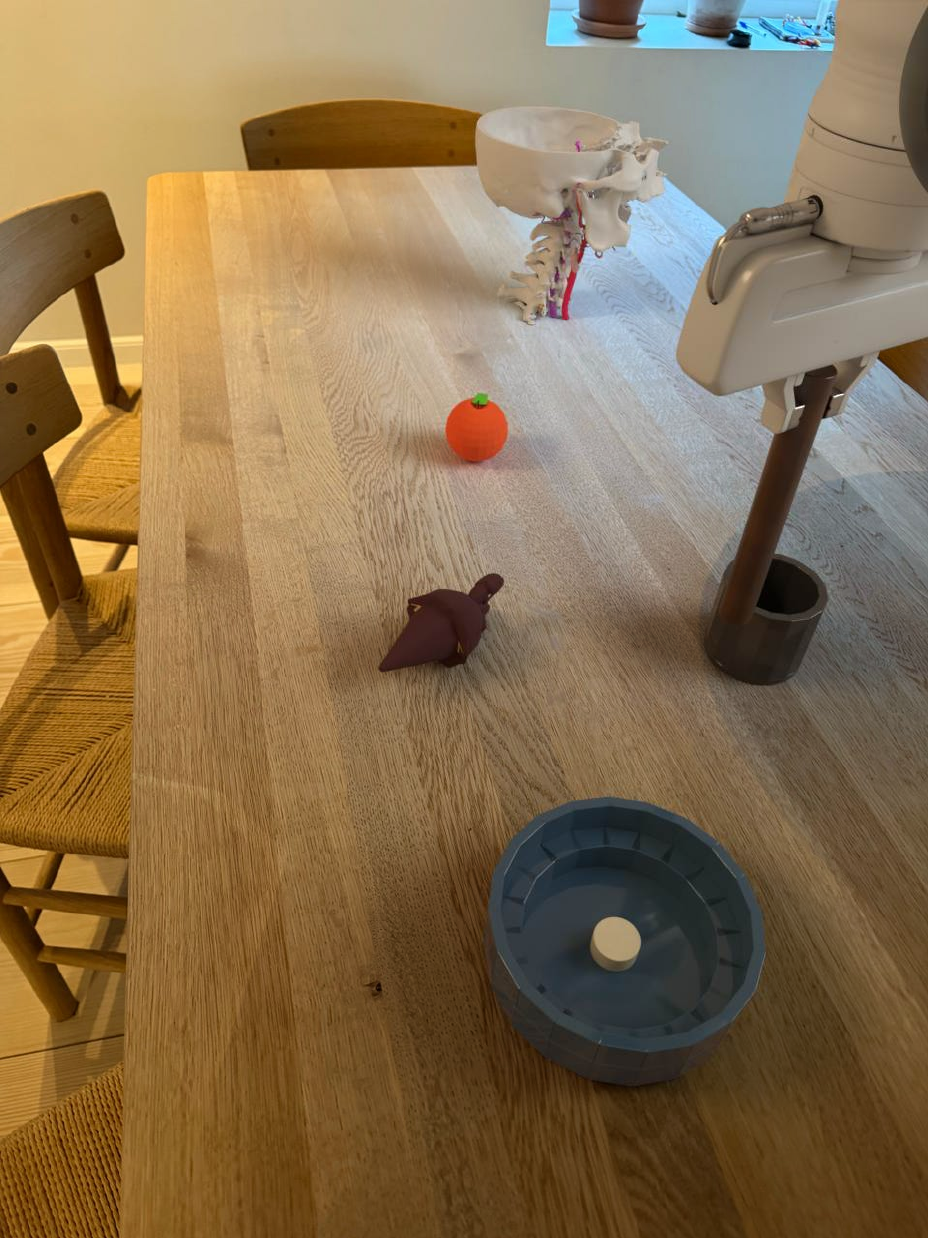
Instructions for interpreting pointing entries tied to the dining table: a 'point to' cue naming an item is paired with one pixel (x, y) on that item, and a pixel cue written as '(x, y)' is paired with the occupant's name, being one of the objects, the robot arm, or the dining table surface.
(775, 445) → the stick
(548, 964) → the bowl
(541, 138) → the skull
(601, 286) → the dining table surface
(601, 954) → the dough
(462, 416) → the clementine
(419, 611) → the icecream
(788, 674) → the holder
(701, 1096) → the dining table surface
